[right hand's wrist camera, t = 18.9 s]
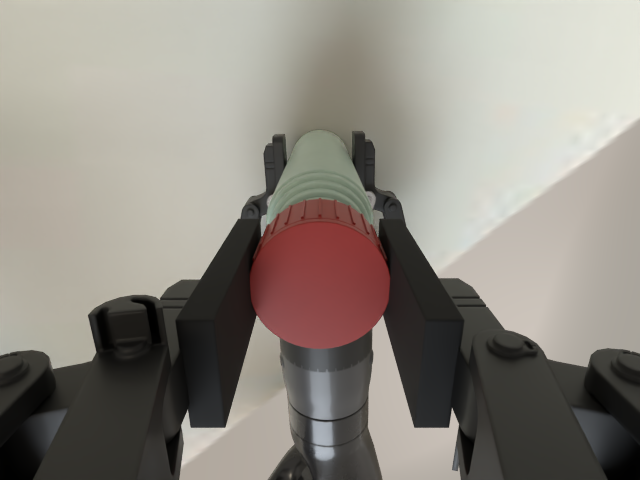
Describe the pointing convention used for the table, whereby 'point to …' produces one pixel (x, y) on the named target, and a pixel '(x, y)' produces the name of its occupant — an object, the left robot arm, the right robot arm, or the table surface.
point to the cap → (319, 275)
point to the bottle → (319, 176)
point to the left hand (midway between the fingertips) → (319, 135)
